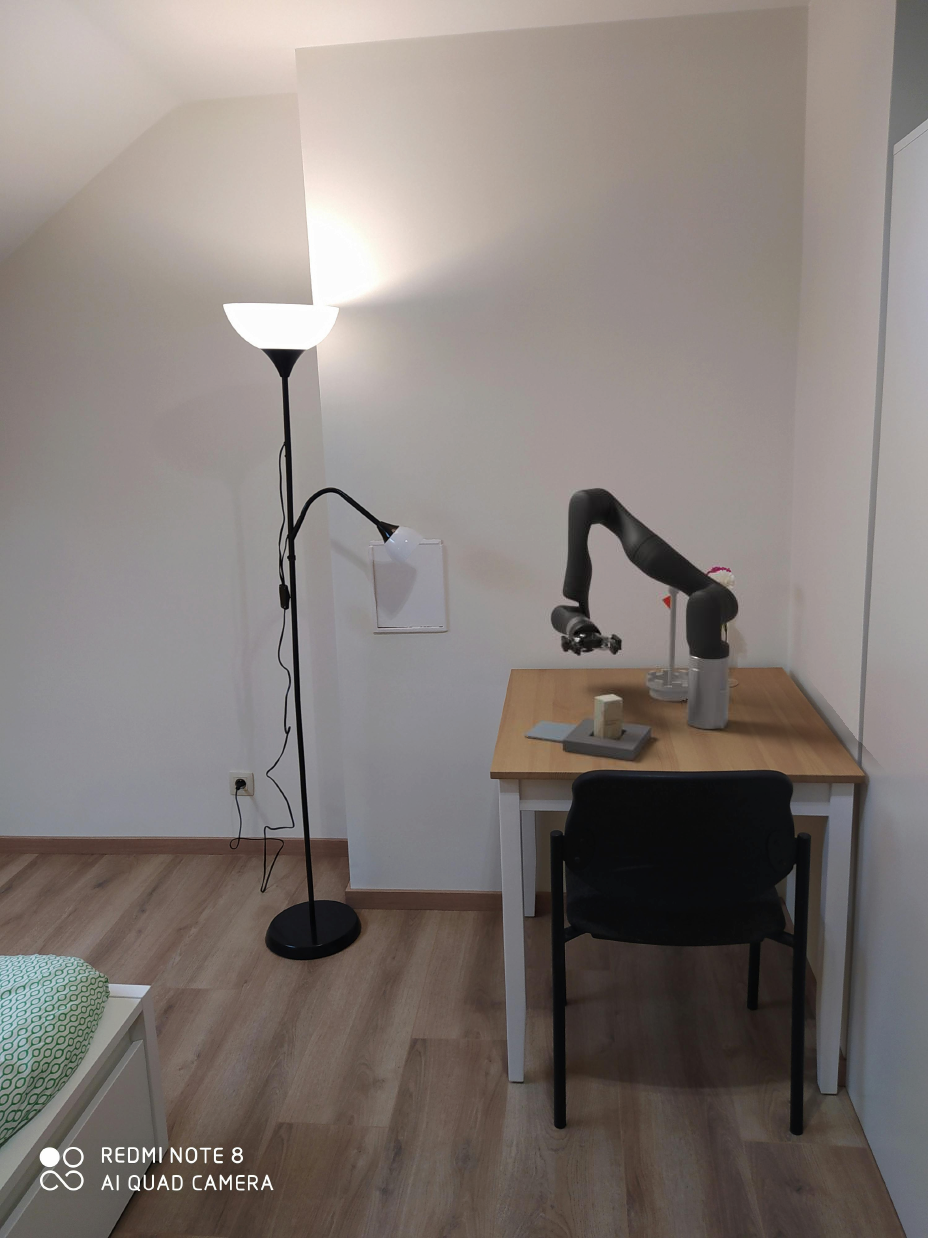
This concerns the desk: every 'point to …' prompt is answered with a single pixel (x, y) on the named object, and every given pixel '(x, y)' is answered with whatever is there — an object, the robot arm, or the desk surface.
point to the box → (608, 717)
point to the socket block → (607, 741)
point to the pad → (551, 731)
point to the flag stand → (667, 681)
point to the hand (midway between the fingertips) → (597, 651)
